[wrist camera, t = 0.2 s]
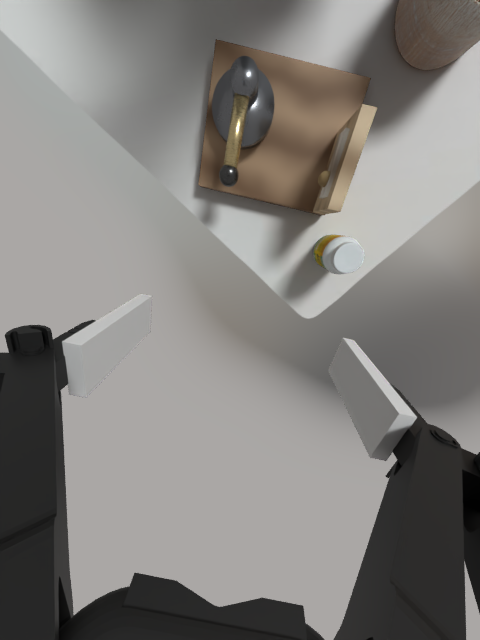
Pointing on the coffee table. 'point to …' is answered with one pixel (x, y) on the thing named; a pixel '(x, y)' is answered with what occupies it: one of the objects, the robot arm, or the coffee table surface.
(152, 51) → the coffee table surface
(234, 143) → the ball knob lever
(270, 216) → the coffee table surface
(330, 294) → the coffee table surface
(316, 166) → the stand
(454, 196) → the coffee table surface
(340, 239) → the supplement bottle
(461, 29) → the planter
